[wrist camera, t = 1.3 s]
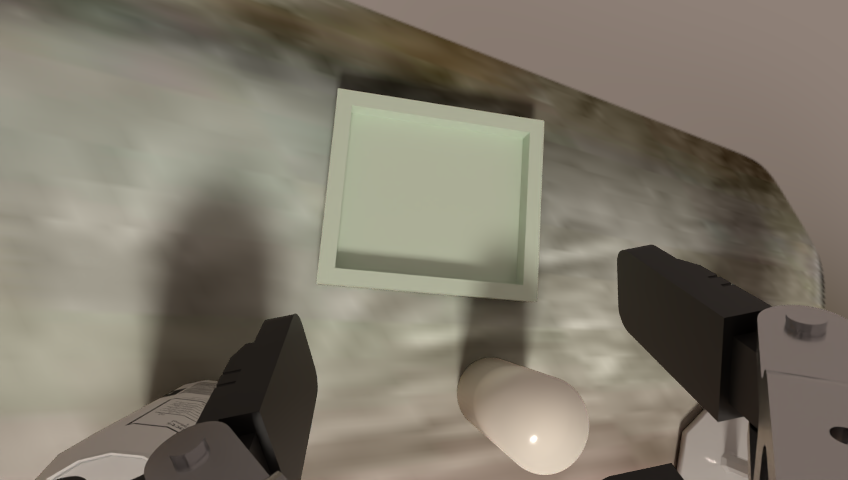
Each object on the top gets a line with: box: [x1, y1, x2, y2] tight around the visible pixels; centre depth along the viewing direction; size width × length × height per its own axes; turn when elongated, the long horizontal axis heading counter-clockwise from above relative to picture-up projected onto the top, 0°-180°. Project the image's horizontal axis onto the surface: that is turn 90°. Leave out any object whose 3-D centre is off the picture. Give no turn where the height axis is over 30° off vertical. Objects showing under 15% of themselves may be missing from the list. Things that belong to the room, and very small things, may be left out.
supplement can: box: [35, 380, 218, 480], centre depth 26 cm, size 8×8×15 cm
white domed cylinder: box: [457, 357, 589, 475], centre depth 32 cm, size 6×6×10 cm
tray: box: [316, 88, 544, 302], centre depth 37 cm, size 17×15×2 cm
